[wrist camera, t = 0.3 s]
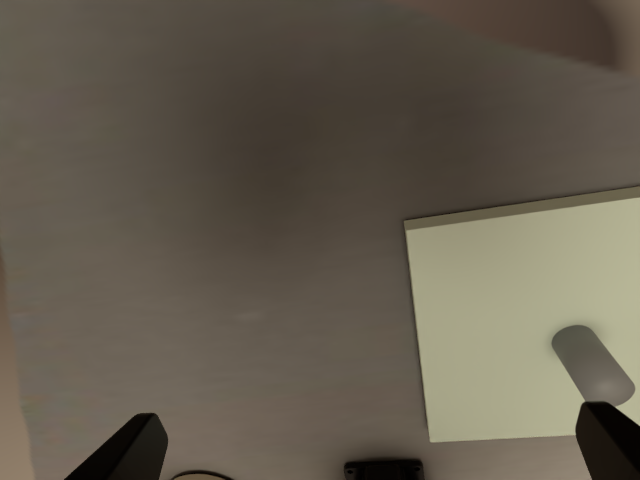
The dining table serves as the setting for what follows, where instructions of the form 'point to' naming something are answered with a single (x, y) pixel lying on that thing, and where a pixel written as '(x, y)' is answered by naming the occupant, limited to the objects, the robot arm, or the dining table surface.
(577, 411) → the pale green base plate
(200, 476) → the travel mug
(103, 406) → the dining table surface
